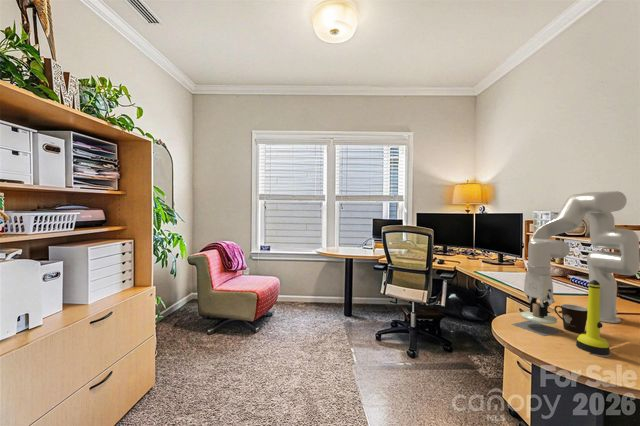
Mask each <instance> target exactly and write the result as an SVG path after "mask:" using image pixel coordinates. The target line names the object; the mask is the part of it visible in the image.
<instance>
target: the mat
mask: <svg viewBox="0 0 640 426" xmlns="http://www.w3.org/2000/svg"><path fill="white" fill-rule="evenodd" d="M511 325H512V326H514V327H517V328H520V329H523V330H526V331H528V332H532V333H535V334H538V335H540V336H542V337H547V336H551V335H556V334H559V333H564V332H565V331H564V330H561V329H559V328H555V327H552V326H548V325H547V324H546V325H545V324H542V323H536V322H532V321H529V320H525V321H521V322H516V323H515V322H514V323H512V324H511Z"/></svg>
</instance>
